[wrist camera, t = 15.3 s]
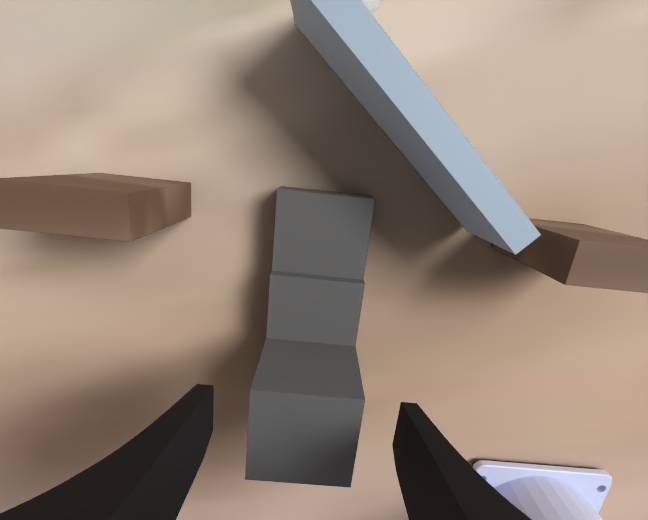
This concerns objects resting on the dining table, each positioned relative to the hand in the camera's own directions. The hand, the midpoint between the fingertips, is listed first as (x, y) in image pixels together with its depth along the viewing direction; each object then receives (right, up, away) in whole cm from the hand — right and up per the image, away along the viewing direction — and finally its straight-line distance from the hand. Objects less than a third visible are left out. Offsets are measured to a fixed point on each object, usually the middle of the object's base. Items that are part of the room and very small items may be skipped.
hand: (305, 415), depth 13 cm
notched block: (0, +4, +4) cm, 5 cm away
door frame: (+2, +8, +3) cm, 8 cm away
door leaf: (+4, +12, +1) cm, 12 cm away
